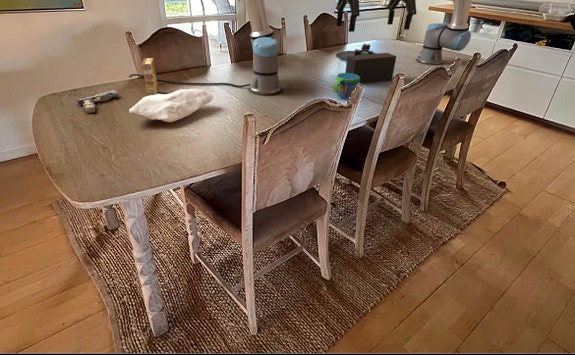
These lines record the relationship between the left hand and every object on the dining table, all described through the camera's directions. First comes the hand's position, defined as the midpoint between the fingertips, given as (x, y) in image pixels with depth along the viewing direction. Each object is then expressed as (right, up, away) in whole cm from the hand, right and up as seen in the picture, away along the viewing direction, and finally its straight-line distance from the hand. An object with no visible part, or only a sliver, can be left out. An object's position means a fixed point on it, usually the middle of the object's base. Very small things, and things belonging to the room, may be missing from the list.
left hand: (344, 28), depth 178 cm
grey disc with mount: (+21, +5, +58) cm, 62 cm away
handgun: (-108, -42, -23) cm, 118 cm away
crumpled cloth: (-76, -47, -29) cm, 94 cm away
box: (+16, -20, +19) cm, 32 cm away
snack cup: (0, -35, -5) cm, 35 cm away
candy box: (-90, -35, -11) cm, 97 cm away
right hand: (+28, +4, +7) cm, 29 cm away
